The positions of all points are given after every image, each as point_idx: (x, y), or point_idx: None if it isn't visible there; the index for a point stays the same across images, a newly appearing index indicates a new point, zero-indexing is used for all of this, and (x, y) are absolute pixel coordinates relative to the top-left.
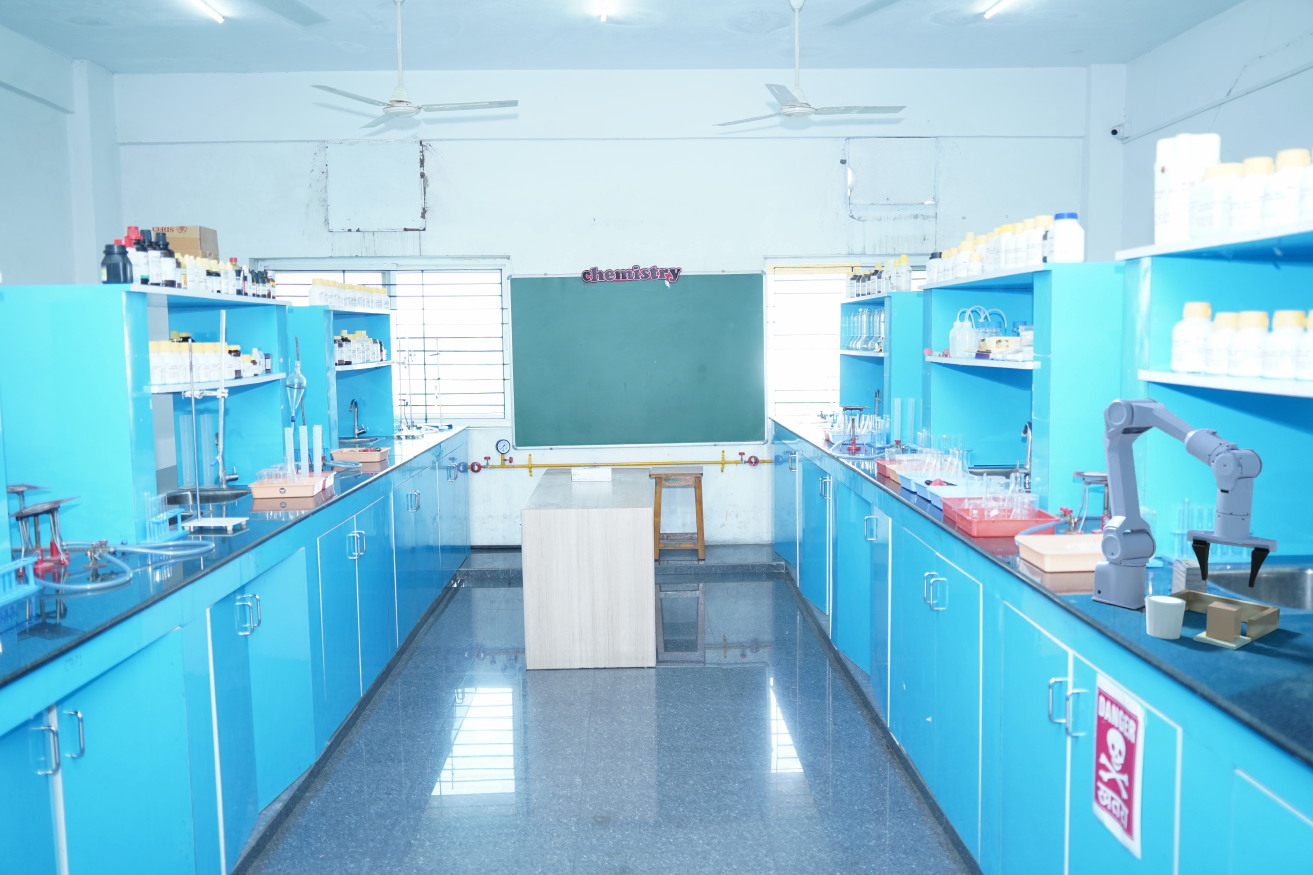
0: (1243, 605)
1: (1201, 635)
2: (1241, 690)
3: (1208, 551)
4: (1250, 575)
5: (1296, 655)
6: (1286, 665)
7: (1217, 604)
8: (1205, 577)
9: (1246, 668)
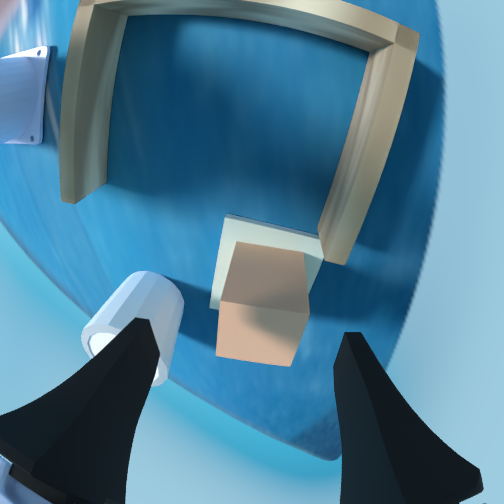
0: (292, 13)
1: (220, 289)
2: (303, 429)
3: (86, 441)
4: (341, 421)
5: (408, 286)
6: (375, 348)
7: (235, 332)
8: (156, 367)
9: (312, 385)
